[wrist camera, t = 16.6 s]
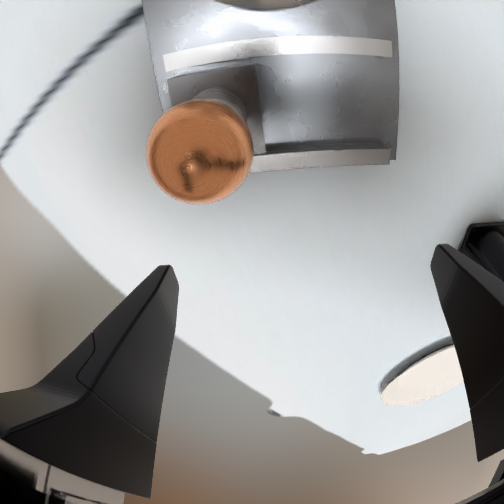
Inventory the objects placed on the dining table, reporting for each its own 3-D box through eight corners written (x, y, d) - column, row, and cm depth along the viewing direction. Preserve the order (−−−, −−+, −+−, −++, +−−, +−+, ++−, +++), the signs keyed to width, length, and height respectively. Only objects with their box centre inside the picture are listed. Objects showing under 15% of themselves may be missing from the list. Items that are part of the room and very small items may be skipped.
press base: (361, -103, 6) (375, -117, 4) (386, 151, 18) (403, 167, 16) (139, -88, 7) (124, -101, 5) (183, 168, 19) (174, 186, 17)
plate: (505, 327, 34) (510, 337, 33) (437, 390, 47) (440, 399, 46) (428, 327, 32) (434, 341, 30) (356, 398, 45) (358, 409, 43)
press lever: (255, 63, 13) (258, 76, 6) (264, 143, 16) (275, 233, 9) (174, 76, 14) (99, 111, 7) (190, 153, 17) (144, 246, 10)
